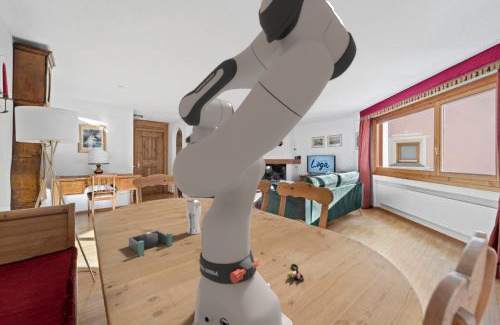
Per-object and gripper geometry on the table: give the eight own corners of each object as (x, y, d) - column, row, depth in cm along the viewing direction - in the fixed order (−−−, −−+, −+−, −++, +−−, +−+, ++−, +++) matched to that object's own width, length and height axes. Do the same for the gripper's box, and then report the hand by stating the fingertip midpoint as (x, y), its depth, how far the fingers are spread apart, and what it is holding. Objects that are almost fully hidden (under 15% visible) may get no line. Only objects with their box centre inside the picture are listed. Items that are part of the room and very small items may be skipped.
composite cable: (290, 265, 71) (290, 258, 71) (305, 268, 69) (305, 260, 69) (286, 282, 61) (286, 274, 61) (303, 285, 60) (303, 277, 60)
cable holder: (172, 245, 86) (172, 233, 86) (139, 256, 77) (139, 242, 76) (158, 237, 94) (158, 226, 94) (127, 246, 85) (127, 234, 85)
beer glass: (186, 235, 96) (185, 202, 96) (186, 230, 103) (186, 199, 103) (201, 234, 98) (201, 202, 98) (201, 229, 105) (200, 199, 104)
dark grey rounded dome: (161, 245, 86) (160, 232, 86) (142, 250, 81) (142, 237, 81) (153, 240, 91) (153, 228, 91) (136, 245, 86) (136, 233, 86)
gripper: (229, 137, 75) (229, 176, 76) (196, 140, 89) (196, 172, 89) (215, 136, 71) (215, 177, 71) (182, 139, 84) (183, 173, 85)
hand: (204, 174), depth 80 cm, fingers closed
